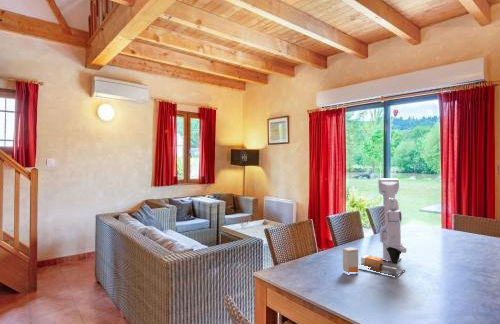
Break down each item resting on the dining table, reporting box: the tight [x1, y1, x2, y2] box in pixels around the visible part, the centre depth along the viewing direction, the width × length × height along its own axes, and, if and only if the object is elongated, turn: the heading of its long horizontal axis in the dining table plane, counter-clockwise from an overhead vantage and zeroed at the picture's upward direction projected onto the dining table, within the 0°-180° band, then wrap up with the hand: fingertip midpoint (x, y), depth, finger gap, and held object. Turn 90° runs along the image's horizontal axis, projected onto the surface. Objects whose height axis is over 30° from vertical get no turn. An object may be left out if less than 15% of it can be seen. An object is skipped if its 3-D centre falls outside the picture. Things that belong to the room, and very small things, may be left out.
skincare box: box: [342, 246, 359, 273], centre depth 144 cm, size 6×4×12 cm
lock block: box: [365, 255, 384, 269], centre depth 150 cm, size 7×5×4 cm, turn 44°
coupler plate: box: [360, 254, 406, 278], centre depth 148 cm, size 12×19×5 cm, turn 45°
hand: (394, 263), depth 144 cm, fingers closed
